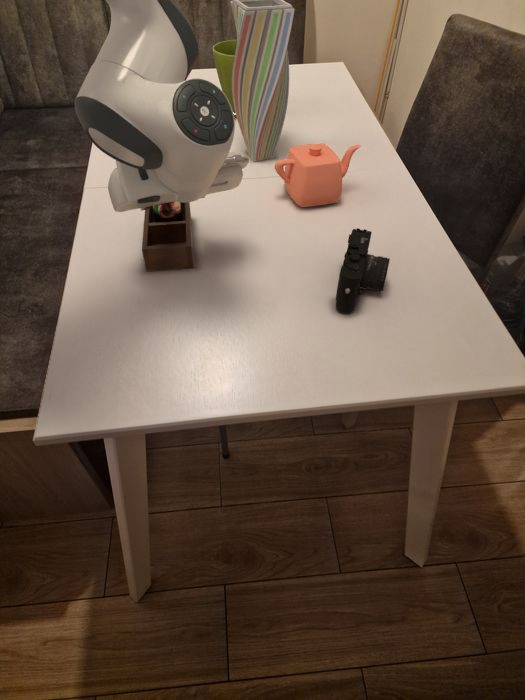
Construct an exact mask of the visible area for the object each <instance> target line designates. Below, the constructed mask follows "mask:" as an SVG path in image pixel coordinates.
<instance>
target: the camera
mask: <svg viewBox="0 0 525 700" xmlns="http://www.w3.org/2000/svg"><path fill="white" fill-rule="evenodd" d="M371 238H372V231H371V230H367V229H365V228H363V229H361V228H360V227H359V228H353V229H352V230H351V232H350V234H348V239H347V248H346V252H345V253H344V256H343V257H344V259H343V263H342V266H341V267H340V271H339V275H338V281H337V287H336V295H335V309H336V311H337V312H339V313H340V314H344V315H349V314H351V313H353V312H354V311H355V309H356V304H357V300H358V298H359V297H361V294H362V289H365V290H368V289H369V290H370V289H371V290H372V291H378V292H384V289H385V284H386V279H387V275H388V270H389V266H390V258H389V257H384V256H382V255H381V256H380V255H378V256H375V255H374V254H370V253H369V247H370V243H371Z"/></svg>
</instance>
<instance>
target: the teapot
mask: <svg viewBox="0 0 525 700" xmlns="http://www.w3.org/2000/svg"><path fill="white" fill-rule="evenodd" d="M361 147H362V145H361V144H355V145H352V146H350V147H349V148H347V149H346V151H345V152H344V154H343V156H342V159H340V157H339V156H338V154H337V153H336V152H335V151H334V150H333V149H332V148H331V147H330V146H329V145H327V144H326V143H324V142H323V143H322V142H321V143H311V144H303V145H301V144H300V145H294V146H291V147H290V148H289V151H288V154H287V156H286V158H284V159H279V160H277V161H275V163H274V170H275V172H276V173H277V175H278V176H279V177H280V178H281V179H282V180H283V182H284V186H285V189H286V191H287V193H288V195H289V197H290V198H291V199H292V200H293V202H295V204H297V205H298V206H299V207H301V208H304V207H305V208H306V207H317V206H323V205H328V204H334V203H337V202H338V201H339V200H340V198H341V197H342V192H343V178H345V176H346V175H347V173H348V170H349V167H350V163H351V159H352V158H353V157H352V156H353V155H354V154H355V152H356V151H357V150H358V149H360V148H361Z"/></svg>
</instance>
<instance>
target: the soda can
mask: <svg viewBox="0 0 525 700" xmlns="http://www.w3.org/2000/svg"><path fill="white" fill-rule="evenodd" d="M153 212H154V218H155V223H157V222H174V221H183V216H182V208H181V202H177V201H173V202H168V203H163V204H158V205H153Z"/></svg>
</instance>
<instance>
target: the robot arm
mask: <svg viewBox="0 0 525 700" xmlns="http://www.w3.org/2000/svg"><path fill="white" fill-rule="evenodd" d="M104 1H105V2H106V3H107V5H108V6H109V10H110V16H111V17H110V27H109V30H108V34H107V36H106V38H105V40H104V42H103V44H102V46H101V48H100V50H99V52H98V54H97V56H96V58H95V60H94V62H93V63H92V65H91V66H90V68H89V70H88V72H87V73H86V76H85V79H84V80H83V82H82V84H81V86H80V89H79V91H78V92H77V95H76V97H75V99H74V110H75V113H76V116H77V118H78V121H79V123H80V125H81V127H82V129H83V131H84V132H85V134H86V136H87V138H89V140H90V141H91V142H92V143H93V145H94V146H95V147H96V148H97V149H99V151H101V152H102V153H104V154H105V155H107V156H108V157H110V158H112V159H113V160H115V163H116V168H114V169H113V170H112V172H111V173H110V176H109V179H108V184H107V191H108V195H109V198H110V202H111V205H112V208H113V211H115V212H116V213H123V212H128V211H134V210H138V209H140V211H142V212H143V211H145V210H147V209H150V207H151V206H153V205H158V204H163V203H168V202H173V201H177V202H190V203H192V202H196V201H198V200H200V199H204V198H206V196H207V195H211V194H215V193H221V192H225V191H231V190H234V189H236V188H238V187H239V186H240V185H241V182H242V180H243V177H244V172H243V169H245V168H246V167H247V166H248V164H249V163H250V158H249V157H248V156H247V155H244V156H242V154H238V153H236V152H234V151H231V148H232V146H233V141H234V137H235V129H236V123H235V122H236V120H235V117H234V114H233V111H232V107H231V105H230V102H229V100H228V99H227V97H226V95H225V94H224V93H223V91H222V88H221V87H219V86H218V85H216V83H213V82H212V81H209V80H208V79H204V78H189V79H188V77H189V76H190V74H191V72H192V71H193V69H194V67H195V65H197V62H198V60H199V44H198V40H197V37H196V34H195V31H194V28H193V25H192V24H191V22H190V20H189V18H188V16H186V14H185V13H184V12H183V10H182V9H181V8H180V7H179V6H178V5H177V4H176V2H174V0H104Z"/></svg>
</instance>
